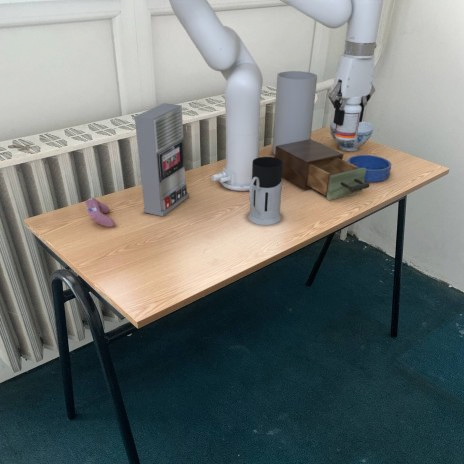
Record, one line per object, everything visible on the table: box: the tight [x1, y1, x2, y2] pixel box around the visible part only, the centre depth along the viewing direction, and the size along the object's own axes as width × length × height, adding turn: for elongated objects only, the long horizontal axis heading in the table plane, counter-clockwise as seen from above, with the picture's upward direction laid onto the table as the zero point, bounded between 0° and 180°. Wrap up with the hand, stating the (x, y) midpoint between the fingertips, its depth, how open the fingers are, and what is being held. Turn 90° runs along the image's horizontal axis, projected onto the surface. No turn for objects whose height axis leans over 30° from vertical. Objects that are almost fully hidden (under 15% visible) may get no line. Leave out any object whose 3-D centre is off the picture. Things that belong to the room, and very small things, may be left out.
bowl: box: [346, 154, 393, 183], centre depth 152 cm, size 13×13×4 cm
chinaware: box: [329, 120, 375, 152], centre depth 171 cm, size 15×15×8 cm
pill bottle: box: [335, 96, 362, 141], centre depth 132 cm, size 6×6×11 cm
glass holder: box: [247, 156, 283, 226], centre depth 122 cm, size 9×14×15 cm, turn 154°
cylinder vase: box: [272, 70, 318, 156], centre depth 160 cm, size 12×12×25 cm
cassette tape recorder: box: [134, 102, 189, 217], centre depth 126 cm, size 14×6×25 cm, turn 155°
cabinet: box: [274, 138, 344, 191], centre depth 148 cm, size 16×14×9 cm
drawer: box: [307, 158, 371, 201], centre depth 139 cm, size 20×12×7 cm, turn 31°
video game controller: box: [84, 197, 115, 228], centre depth 124 cm, size 10×5×7 cm, turn 21°
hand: (347, 121), depth 133 cm, fingers closed on pill bottle, 6 cm apart
